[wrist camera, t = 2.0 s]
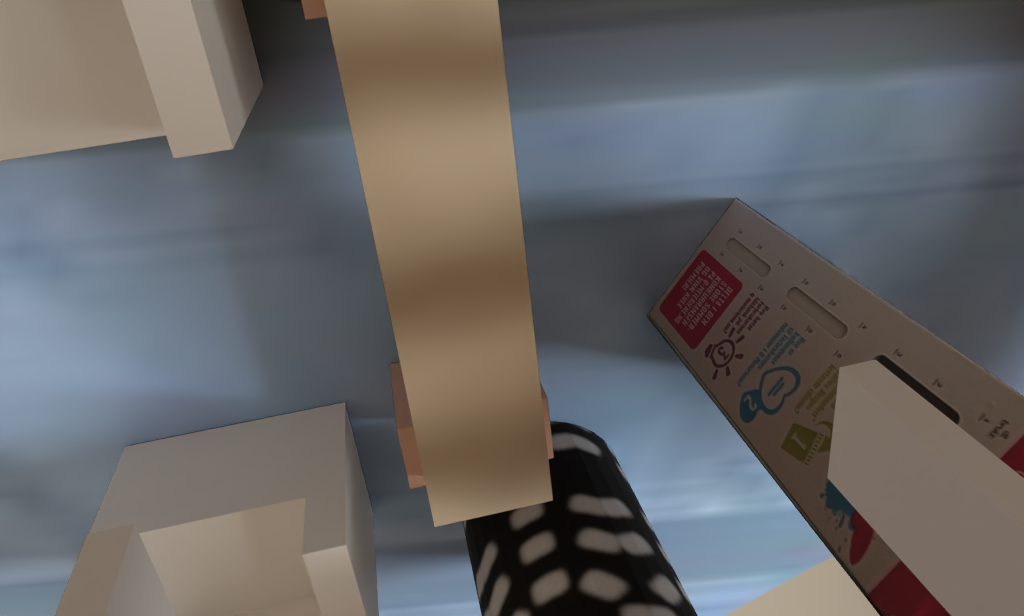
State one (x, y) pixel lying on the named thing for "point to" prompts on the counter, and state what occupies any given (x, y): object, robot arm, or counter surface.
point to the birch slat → (449, 242)
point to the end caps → (221, 451)
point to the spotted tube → (575, 544)
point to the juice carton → (818, 378)
